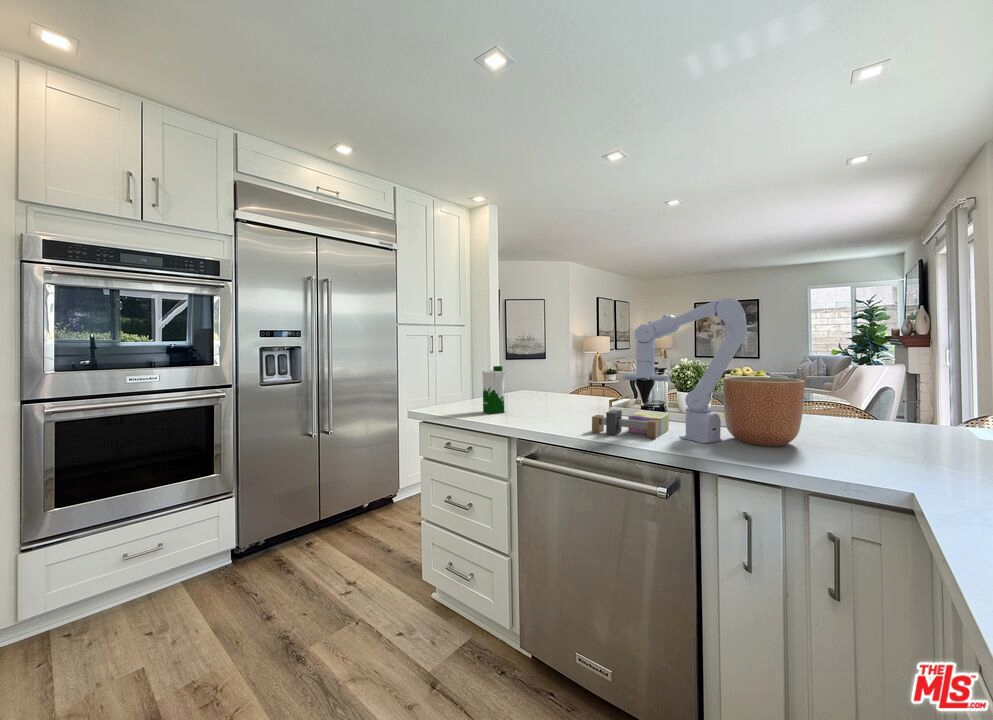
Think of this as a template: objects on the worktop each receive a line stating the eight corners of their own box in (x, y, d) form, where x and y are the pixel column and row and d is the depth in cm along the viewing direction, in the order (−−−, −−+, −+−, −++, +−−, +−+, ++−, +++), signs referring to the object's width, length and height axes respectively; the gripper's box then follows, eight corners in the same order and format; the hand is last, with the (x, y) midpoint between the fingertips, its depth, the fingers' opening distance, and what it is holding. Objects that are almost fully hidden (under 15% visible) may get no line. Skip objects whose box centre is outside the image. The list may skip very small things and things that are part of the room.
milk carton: (507, 413, 187) (507, 366, 187) (488, 414, 184) (487, 367, 183) (498, 410, 195) (498, 365, 195) (480, 411, 192) (479, 366, 191)
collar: (621, 431, 146) (621, 410, 146) (615, 434, 140) (615, 413, 140) (612, 430, 148) (612, 409, 148) (606, 433, 142) (606, 412, 142)
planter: (706, 437, 137) (707, 377, 136) (754, 432, 144) (755, 375, 143) (768, 453, 117) (770, 383, 117) (820, 446, 125) (822, 380, 124)
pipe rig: (658, 436, 139) (658, 420, 139) (655, 439, 135) (655, 422, 135) (596, 430, 150) (597, 414, 150) (591, 432, 146) (592, 416, 145)
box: (638, 427, 155) (628, 432, 146) (638, 411, 155) (628, 415, 145) (668, 430, 149) (660, 436, 140) (669, 413, 149) (660, 418, 140)
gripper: (671, 361, 142) (670, 402, 143) (626, 360, 150) (626, 399, 151) (666, 362, 136) (666, 405, 137) (620, 361, 144) (620, 402, 145)
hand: (645, 402), depth 143 cm, fingers closed
